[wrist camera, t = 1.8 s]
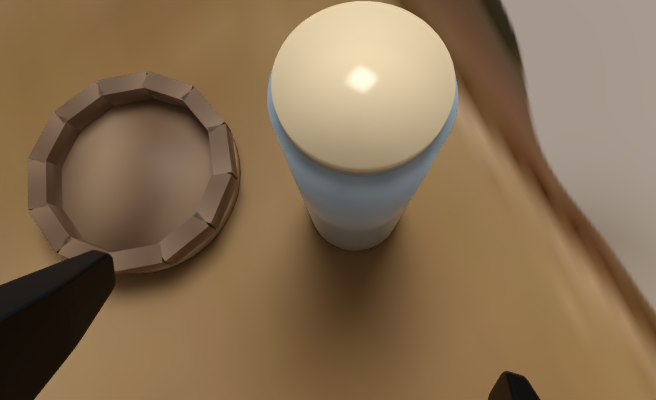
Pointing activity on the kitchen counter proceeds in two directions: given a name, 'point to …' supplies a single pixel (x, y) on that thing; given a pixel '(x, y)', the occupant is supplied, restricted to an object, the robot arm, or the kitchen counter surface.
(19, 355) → the robot arm
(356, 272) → the kitchen counter surface
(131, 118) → the walnut tray
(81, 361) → the kitchen counter surface
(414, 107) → the bead jar
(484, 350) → the kitchen counter surface
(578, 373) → the kitchen counter surface
